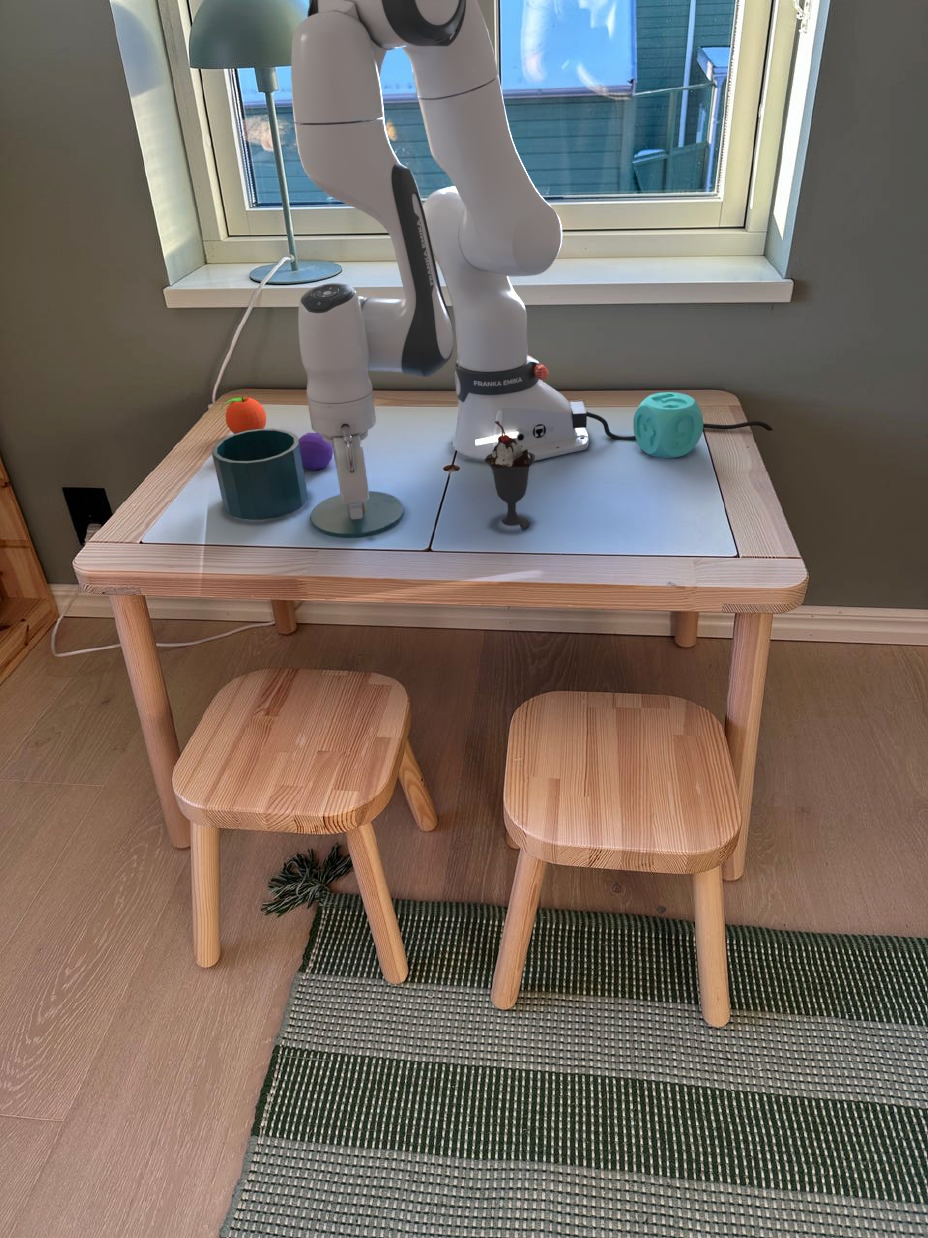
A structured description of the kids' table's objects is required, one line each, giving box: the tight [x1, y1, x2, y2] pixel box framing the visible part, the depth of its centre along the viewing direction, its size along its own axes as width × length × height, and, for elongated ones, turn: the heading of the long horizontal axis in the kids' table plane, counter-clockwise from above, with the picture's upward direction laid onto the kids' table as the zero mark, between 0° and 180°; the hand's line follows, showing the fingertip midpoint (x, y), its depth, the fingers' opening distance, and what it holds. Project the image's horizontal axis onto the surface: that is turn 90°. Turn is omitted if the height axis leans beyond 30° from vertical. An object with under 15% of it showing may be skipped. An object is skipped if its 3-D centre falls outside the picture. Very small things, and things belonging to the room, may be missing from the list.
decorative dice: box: [632, 391, 704, 459], centre depth 146 cm, size 8×8×8 cm
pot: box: [211, 428, 308, 521], centre depth 136 cm, size 12×12×10 cm
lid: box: [310, 490, 405, 539], centre depth 132 cm, size 13×13×5 cm
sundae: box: [484, 421, 535, 531], centre depth 125 cm, size 7×7×15 cm
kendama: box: [298, 432, 334, 471], centre depth 149 cm, size 6×6×20 cm
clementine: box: [220, 396, 267, 434], centre depth 159 cm, size 8×7×7 cm
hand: (354, 504), depth 132 cm, fingers open, 7 cm apart
